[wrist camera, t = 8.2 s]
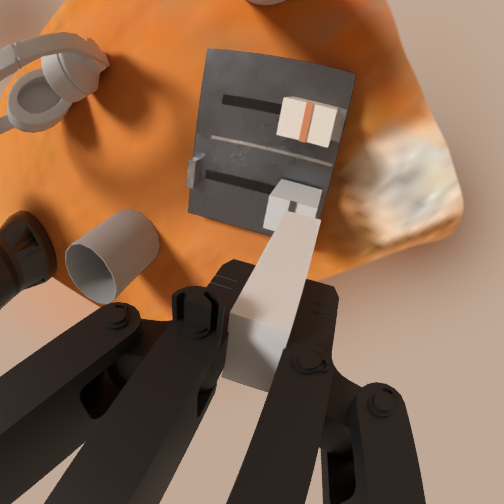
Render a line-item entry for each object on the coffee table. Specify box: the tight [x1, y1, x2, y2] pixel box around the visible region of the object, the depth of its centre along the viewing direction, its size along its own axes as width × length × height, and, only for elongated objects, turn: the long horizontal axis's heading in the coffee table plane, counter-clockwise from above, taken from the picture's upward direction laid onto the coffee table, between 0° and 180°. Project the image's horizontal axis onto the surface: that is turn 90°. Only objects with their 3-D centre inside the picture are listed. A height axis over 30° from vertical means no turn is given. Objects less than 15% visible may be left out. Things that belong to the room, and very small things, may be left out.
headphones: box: [0, 32, 110, 134], centre depth 23 cm, size 19×8×20 cm, turn 111°
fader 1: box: [276, 97, 338, 148], centre depth 23 cm, size 4×3×5 cm
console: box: [186, 49, 356, 236], centre depth 29 cm, size 14×18×3 cm
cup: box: [65, 209, 160, 304], centre depth 37 cm, size 8×8×10 cm
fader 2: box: [263, 179, 322, 231], centre depth 28 cm, size 4×3×5 cm
